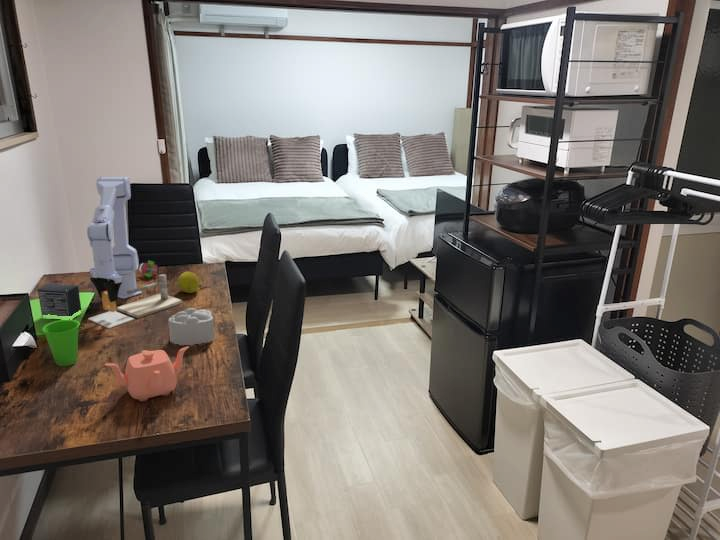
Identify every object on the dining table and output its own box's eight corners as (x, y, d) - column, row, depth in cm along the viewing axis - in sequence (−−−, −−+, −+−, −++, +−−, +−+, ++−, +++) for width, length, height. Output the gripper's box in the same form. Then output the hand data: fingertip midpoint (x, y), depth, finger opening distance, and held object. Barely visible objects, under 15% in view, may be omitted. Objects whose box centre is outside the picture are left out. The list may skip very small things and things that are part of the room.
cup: (47, 372, 140) (41, 335, 137) (48, 358, 148) (42, 322, 144) (85, 366, 144) (79, 329, 141) (84, 352, 152) (79, 317, 148)
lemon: (199, 296, 197) (198, 276, 194) (177, 297, 195) (176, 277, 192) (200, 286, 207) (199, 267, 204) (179, 287, 205) (178, 268, 202)
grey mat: (87, 319, 173) (87, 318, 173) (113, 311, 180) (112, 310, 180) (109, 328, 167) (108, 327, 167) (134, 319, 174) (134, 318, 174)
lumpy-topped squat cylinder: (215, 342, 161) (214, 316, 158) (171, 348, 156) (168, 321, 153) (211, 328, 170) (210, 304, 167) (169, 334, 165) (167, 308, 162)
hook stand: (117, 309, 182) (113, 282, 179) (161, 295, 196) (159, 270, 193) (138, 318, 175) (135, 290, 172) (182, 302, 190) (180, 276, 187)
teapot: (192, 381, 139) (189, 343, 135) (162, 410, 125) (158, 370, 122) (143, 373, 141) (139, 336, 138) (108, 402, 128) (103, 362, 124)
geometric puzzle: (156, 266, 222) (144, 254, 216) (165, 269, 218) (154, 257, 212) (144, 279, 218) (132, 267, 213) (154, 283, 215) (142, 271, 209)
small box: (83, 313, 178) (79, 284, 175) (71, 321, 172) (67, 291, 168) (54, 311, 179) (49, 282, 175) (41, 319, 172) (36, 289, 169)
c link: (103, 308, 173) (101, 291, 171) (107, 307, 175) (105, 290, 173) (112, 312, 171) (110, 295, 169) (116, 310, 172) (114, 293, 170)
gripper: (78, 258, 168) (84, 297, 172) (105, 266, 160) (110, 307, 165) (99, 253, 173) (104, 291, 178) (125, 261, 166) (130, 301, 170)
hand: (108, 299), depth 171 cm, fingers closed on c link, 5 cm apart
